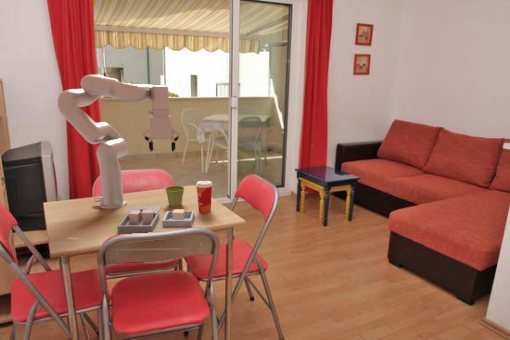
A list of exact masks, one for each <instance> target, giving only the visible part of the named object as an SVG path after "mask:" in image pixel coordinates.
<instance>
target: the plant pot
mask: <svg viewBox="0 0 510 340" xmlns="http://www.w3.org/2000/svg"><path fill="white" fill-rule="evenodd" d="M184 190H185V187H184V186H183V185H171V186H166V187H165V188H164V191H165V193H166V196H167V201H168V206H170V207H178V206H179V207H180V206H182V205H183V195H184Z"/></svg>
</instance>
